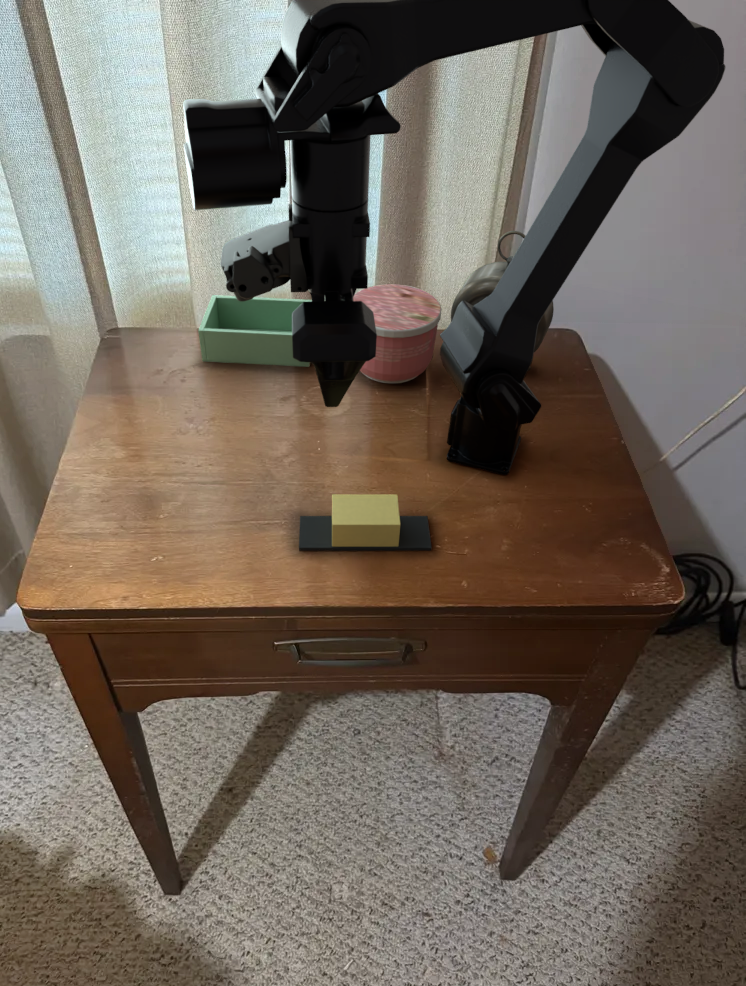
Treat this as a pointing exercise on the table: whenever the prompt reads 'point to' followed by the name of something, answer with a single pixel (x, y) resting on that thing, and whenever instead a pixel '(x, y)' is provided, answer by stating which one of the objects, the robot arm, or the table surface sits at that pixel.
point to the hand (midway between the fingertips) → (329, 375)
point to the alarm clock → (486, 282)
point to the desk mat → (319, 538)
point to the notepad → (365, 520)
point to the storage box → (249, 331)
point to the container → (400, 331)
